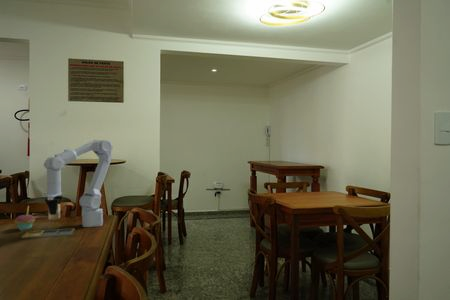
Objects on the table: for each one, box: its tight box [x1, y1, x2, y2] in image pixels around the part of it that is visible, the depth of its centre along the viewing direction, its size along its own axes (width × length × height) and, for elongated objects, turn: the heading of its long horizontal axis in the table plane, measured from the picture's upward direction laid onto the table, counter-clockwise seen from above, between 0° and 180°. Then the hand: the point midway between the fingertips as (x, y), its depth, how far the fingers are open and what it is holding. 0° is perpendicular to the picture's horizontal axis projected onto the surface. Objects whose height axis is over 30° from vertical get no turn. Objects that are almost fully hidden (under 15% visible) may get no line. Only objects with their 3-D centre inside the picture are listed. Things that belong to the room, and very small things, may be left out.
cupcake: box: [14, 204, 36, 231], centre depth 156 cm, size 9×8×12 cm
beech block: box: [47, 203, 61, 220], centre depth 146 cm, size 4×4×6 cm
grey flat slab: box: [20, 227, 76, 239], centre depth 146 cm, size 20×9×1 cm, turn 106°
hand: (54, 213), depth 146 cm, fingers closed on beech block, 4 cm apart
